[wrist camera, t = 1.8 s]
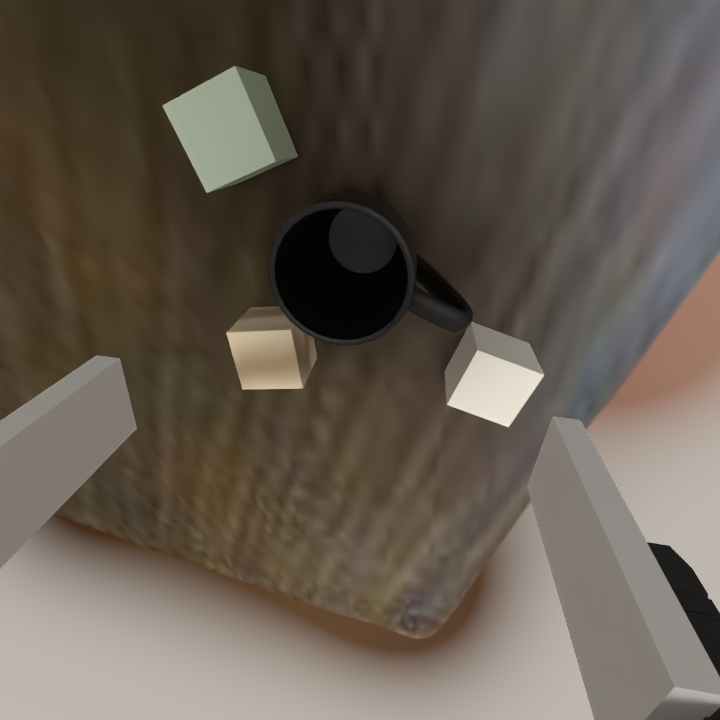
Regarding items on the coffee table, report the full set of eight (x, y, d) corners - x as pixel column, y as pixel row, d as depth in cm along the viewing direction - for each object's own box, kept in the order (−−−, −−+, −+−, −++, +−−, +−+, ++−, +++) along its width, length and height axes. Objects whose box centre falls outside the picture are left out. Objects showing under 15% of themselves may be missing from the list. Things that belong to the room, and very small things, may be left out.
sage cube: (202, 109, 28) (162, 105, 24) (265, 75, 27) (235, 65, 22) (238, 183, 30) (206, 192, 26) (298, 156, 29) (275, 161, 24)
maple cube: (250, 307, 35) (226, 332, 31) (308, 304, 34) (290, 329, 30) (263, 359, 37) (242, 389, 33) (317, 357, 37) (302, 388, 32)
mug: (432, 327, 34) (434, 392, 25) (294, 265, 33) (250, 311, 24) (487, 233, 29) (510, 274, 21) (331, 158, 28) (293, 170, 20)
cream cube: (470, 320, 33) (477, 350, 29) (529, 342, 33) (544, 375, 29) (444, 371, 35) (446, 404, 31) (498, 390, 36) (508, 427, 31)
